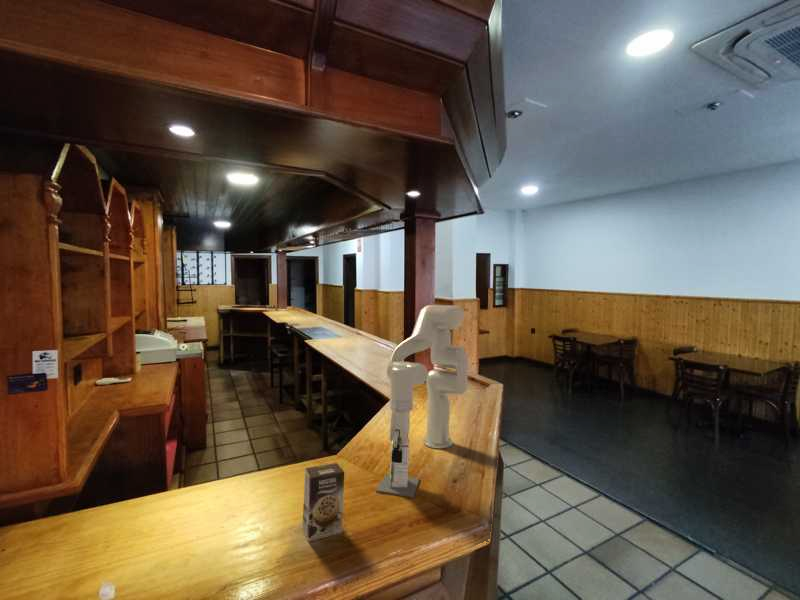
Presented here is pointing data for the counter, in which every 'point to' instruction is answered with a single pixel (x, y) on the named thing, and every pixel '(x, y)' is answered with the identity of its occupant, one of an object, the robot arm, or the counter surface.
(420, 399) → the counter surface
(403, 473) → the syrup box
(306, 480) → the cookie box
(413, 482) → the mat
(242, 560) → the counter surface
